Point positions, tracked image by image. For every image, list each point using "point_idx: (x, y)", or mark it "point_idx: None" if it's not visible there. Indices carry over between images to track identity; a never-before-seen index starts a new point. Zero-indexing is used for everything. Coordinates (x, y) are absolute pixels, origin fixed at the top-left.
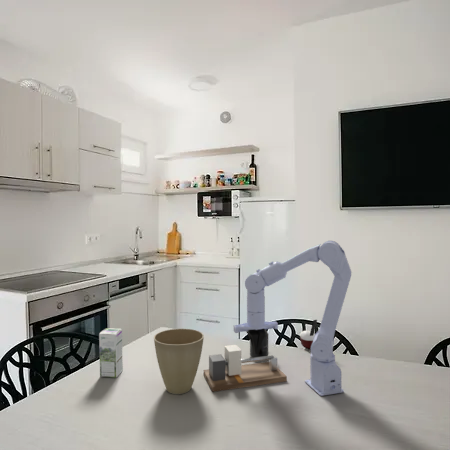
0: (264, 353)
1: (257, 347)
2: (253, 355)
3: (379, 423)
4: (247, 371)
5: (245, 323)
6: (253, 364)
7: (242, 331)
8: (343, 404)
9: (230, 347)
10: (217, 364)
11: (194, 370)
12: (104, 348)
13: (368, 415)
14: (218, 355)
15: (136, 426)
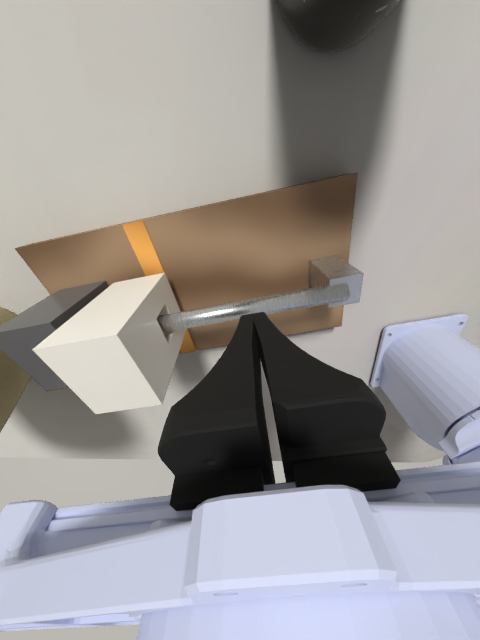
0: (374, 22)
1: (263, 368)
2: (287, 4)
3: (397, 438)
4: (214, 279)
5: (103, 602)
6: (251, 206)
7: (119, 511)
8: (390, 404)
9: (85, 370)
10: None
11: (8, 416)
12: None
13: (401, 426)
14: (42, 337)
15: (12, 434)
